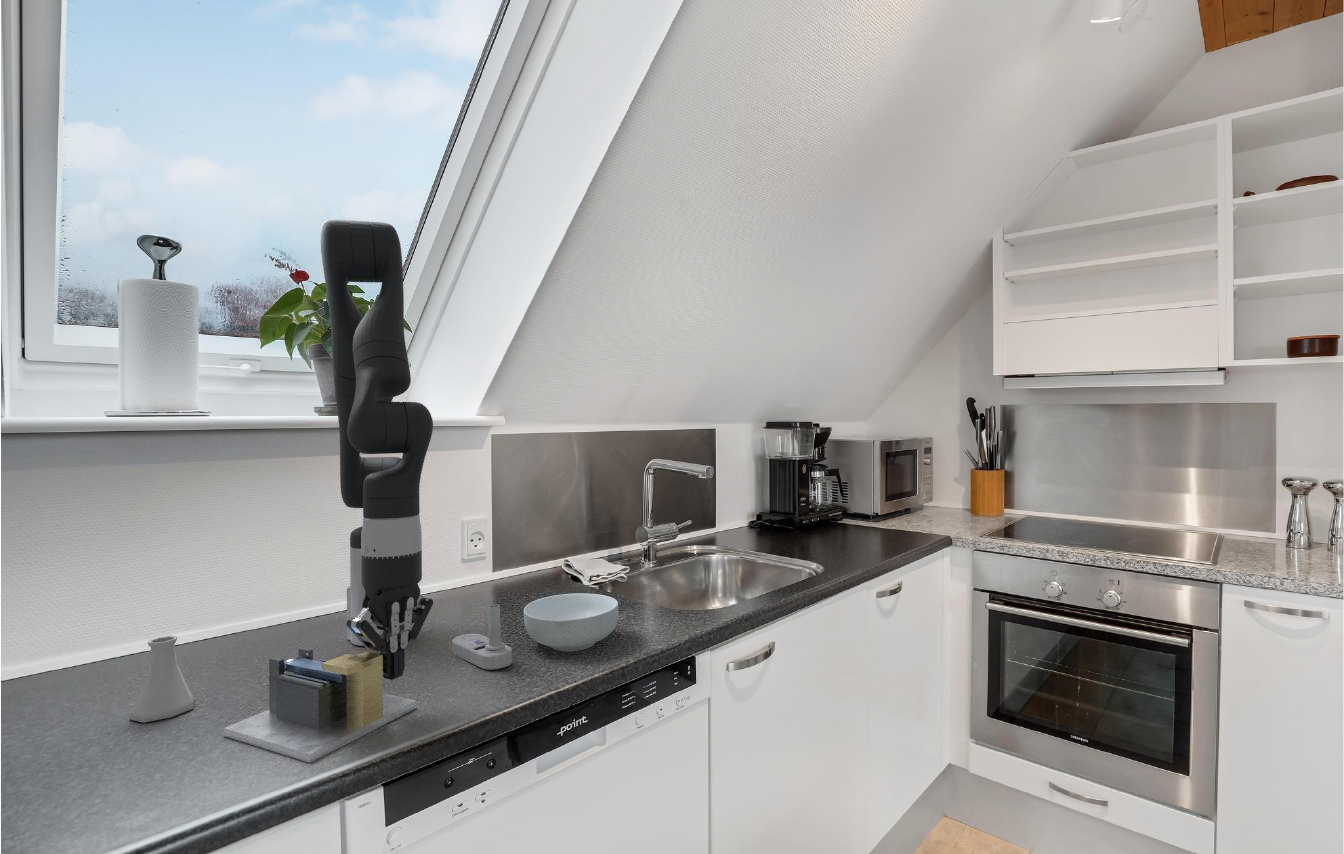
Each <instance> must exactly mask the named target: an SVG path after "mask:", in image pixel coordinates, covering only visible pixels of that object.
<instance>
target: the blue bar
mask: <svg viewBox="0 0 1344 854" xmlns="http://www.w3.org/2000/svg"><path fill="white" fill-rule="evenodd" d="M322 663H324V662H321V661H320V660H316V659H315V660H314V659H313V660H310V659H305V658H303V656H299V655H298V656H295V657H292V658H290V659H286V660H284V673H287V672H288V673H293V674H294V673H296V674H301V675H306V676H311V677H316V678H321V679H326V680H331V681H336V682H342V681H345V680H347V677H346V675H344V674H340V673H335V672H331V671H326V670H322Z"/></svg>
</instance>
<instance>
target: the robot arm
mask: <svg viewBox="0 0 1344 854" xmlns="http://www.w3.org/2000/svg"><path fill="white" fill-rule="evenodd" d="M319 236H320V240H319V241H320V254H321V260H322V261H321V263H322V268H323V270H322V271H323V274H324V282H325V288H326V296H327V303H328V311H329V317H330V318H329V319H330V330H331V334H330V335H331V355H332V372H333V384H334V395H335V402H336V411H337V412H336V413H337V420H338V430H339V479H340V480H339V481H340V494H341V499H342V501H343V504H344V505H345V506H346V507H348V508H351V509H362V512H363V513H362V526H359V527H357V528H355V529H353V530H352V531H351V532H350V536H349V546H350V547H349V556H350V557H349V562H350V567H349V568H350V570H349V571H350V572H349V574H350V580H349V581H350V585H349V586H347V588H346V639H347V640H349V641H350V643H351V644H352V645H355V646H361V647H365V648H366V649H367V650H369V651H374V652H379V654H381V655H383V678H384V680H385V679H387V680H390V681H394V680H396V679H398V678H401V677H403V675H404V670H405V667H406V665H405V664H406V663H405V662H406V661H405V660H406V659H405V658H406V657H405V655H406V654H405V652H406V650H405V649H406V648H407V647H408V643H409V642H410V641H415V640H416V639H417V638H418V636H419V634H420V632H421V629H422V627H423V626H424V623H425V622H426V619H427V617H428V615H429V613H430V611H431V609H432V607H433V605H434V600H433V599H432V598H428V597H425V596H424V595H422V594H421V587H420V585H419V584H420V583H421V581H422V579H423V558H422V557H423V554H422V553H423V545H422V544H423V543H422V540H423V539H422V538H423V537H422V536H423V535H422V534H423V533H422V522H421V517H420V510H421V509H420V487H421V486H420V483H421V478H422V471H423V468H424V463H425V459H426V456H427V453H428V450H429V446H430V443H431V440H432V435H433V429H434V423H433V422H434V421H433V417H432V413H431V412H430V410H429V409H428V407H426V406H425V405H424V404H423V403H420V402H416V401H393V399H394V398H396V397H399V396H401V395H403V394H405V393H406V392H407V391H408V390H409V388H410V386H411V383H412V381H411V379H412V378H411V376H412V375H411V370H410V363H409V358H408V353H407V351H408V350H407V345H406V337H405V326H404V325H405V324H404V317H405V316H404V314H405V310H404V306H405V304H404V303H405V299H404V298H405V295H404V292H405V291H404V272H403V271H404V270H403V257H402V255H403V254H402V253H403V252H402V246H401V241H400V237H399V234H398V232H397V230H396V228H395V227H394V226H393V225H392V224H390V223H388V222H387V223H386V222H381V221H373V220H372V221H369V220H356V219H355V220H354V219H352V220H351V219H339V218H338V219H337V218H333V219H327V220H325V221H324V222H323V223H322V225H321V229H320V235H319ZM348 283H381V285H380V291H379V293H378V295H377V296H376V298H375V300H374V302H373V303H372V305H371V306H370V307H369V309H368V310H367V312H366V313H365V314H364V316H363V314H362V313H361V311H360V310H359V308H358V307H357V305H356V303H355V301H354V299H353V297H352V295H351V292H350V289H349V287H348ZM361 454H363V455H379V454H384V455H385V454H386V455H387V454H402V457H398V456H376V457H375V456H374V457H373V456H371V457H369V456H368V457H362V456H361Z"/></svg>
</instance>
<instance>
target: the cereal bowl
mask: <svg viewBox="0 0 1344 854" xmlns="http://www.w3.org/2000/svg"><path fill="white" fill-rule="evenodd" d="M618 619H619V602H618V600H617V599H616V598H614V597H611V596H608V595H605V594H604V595H603V594H599V593H585V592H582V593H576V592H575V593H564V594H555V595H550V596H546V597H542V598H538V599H535V600H534V601H531V602H529V603H528V604H526V605H525V607H524V608H523V622H524V628H525V630H526V633H528V636H529V637H530V638H531V639H533V640H534V641H535V642H536V643H539V644H540V645H544V646H545V647H546V646H547V647H549V648H551V649H553V650H555V651H558V652H576V651H577V652H579V651H583V650H586V649H589V648H591V647H593V646H594V645H595V643H597V642H600V641H602V640H604V639H605V638H607V636H609V635H610V634H611V633H612V632H613V630H614V629H615V628H616V625H617V623H618Z"/></svg>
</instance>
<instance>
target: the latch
mask: <svg viewBox="0 0 1344 854" xmlns="http://www.w3.org/2000/svg"><path fill="white" fill-rule="evenodd" d="M322 670H326V671H331V672H335V673H340V674H344V675H346V677H347V723H349V724H353V725H356V726H360V727H365V726H367V725H369V724H371V723H373V722H375V721H377V720H379V719H381V718H383V693H384V689H383V688H384V687H383V686H384V685H383V684H384V681H383V680H384V679H383V678H384V677H383V655H381V654H380V653H376V652H370V651H364V652H361V653H359V654H356V655H355V654H351V653H346V654H343V655H341V656H338V657H336V658H332V659H329V661H327V662H324V663H322Z"/></svg>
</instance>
